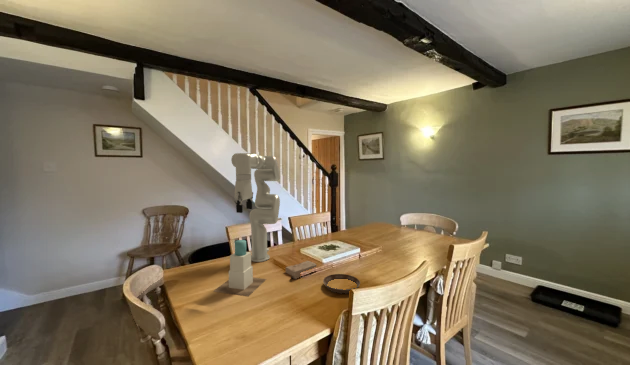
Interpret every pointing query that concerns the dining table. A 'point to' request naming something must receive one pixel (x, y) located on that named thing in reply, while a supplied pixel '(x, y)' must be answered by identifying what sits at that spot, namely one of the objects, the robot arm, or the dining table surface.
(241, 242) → the teal cylinder
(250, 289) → the tower board
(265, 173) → the robot arm
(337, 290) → the dark brown ring
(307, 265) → the brick
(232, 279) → the tower block lower
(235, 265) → the tower block upper
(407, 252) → the dining table surface
